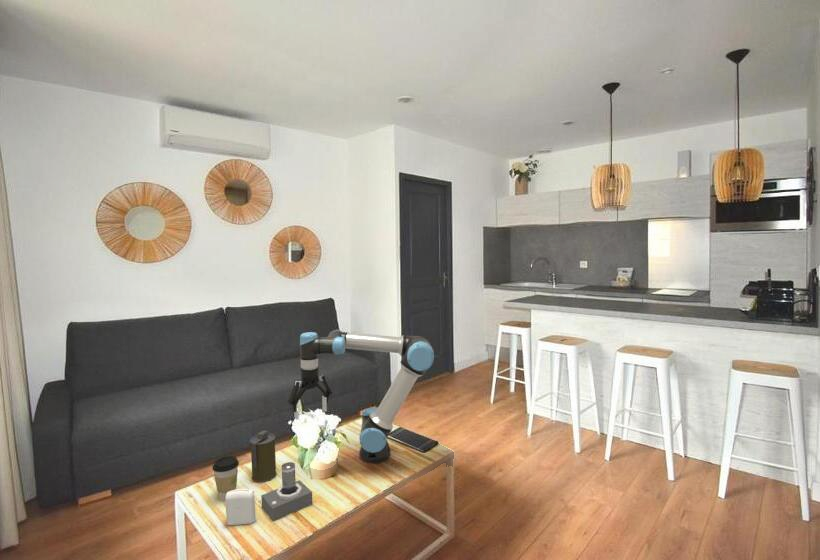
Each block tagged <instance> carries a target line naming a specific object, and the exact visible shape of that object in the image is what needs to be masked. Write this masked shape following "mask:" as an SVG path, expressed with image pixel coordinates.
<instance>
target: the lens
mask: <svg viewBox="0 0 820 560" xmlns="http://www.w3.org/2000/svg"><path fill="white" fill-rule="evenodd" d="M281 482H282V483H281V486H282V489H283V494H286V495H290V494H292V493H295V492H296V482H297V481H296V463H295V462H293V461H289V462H285V463H283V464H282V465H281Z"/></svg>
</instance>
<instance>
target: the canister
mask: <svg viewBox="0 0 820 560" xmlns="http://www.w3.org/2000/svg"><path fill="white" fill-rule="evenodd" d="M249 442H250V453H251V454H250V456H251V480H252V481H253V482H254V483H258V484H259V483H268V482H270V481H273V480H274V479H275V478H276V477H277V464H276V463H277V461H276V435H275V434H273V433H269V431H268V430H264V429H263V430H262V431H259V432H258V433H257V435H254V436H253V437H251V438H250V440H249Z"/></svg>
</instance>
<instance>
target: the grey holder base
mask: <svg viewBox="0 0 820 560" xmlns="http://www.w3.org/2000/svg"><path fill="white" fill-rule="evenodd" d="M260 497H261V508H262V509H263V511H264V512H265V513H266V515H267V516H268V517H269V519H270V520H271V521H272V522H274V521H277V520H279V519H282V518H284V517H287V516H288V515H291V514H293V513H296V512H298V511H300V510H302V509H305V508H306V507H310V506H311V505H313V491H312V490H311V489H310V488H309V487H307V486H306V484H304V482H303V481H301V480H297V481H296V492H295V493H292V494H290V495H286V494H283V489H282V485H281V486H279V487H278V488H277V489H274V490H272V491H269V492H267V493H263V494H261V495H260Z"/></svg>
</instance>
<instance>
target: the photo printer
mask: <svg viewBox="0 0 820 560" xmlns="http://www.w3.org/2000/svg"><path fill="white" fill-rule="evenodd" d="M255 497H256V496H255V491H254V490H253V489H250V488H236V490H232V491H229V492H227V494H226V498H225V501H224V503H225V514H226V515H225V516H226V517H225V518H226V525H227V526H237V525H248V524H253V523H254V522H256V519H257V517H256V515H257V513H256V503H255V502H256V499H255Z"/></svg>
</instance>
